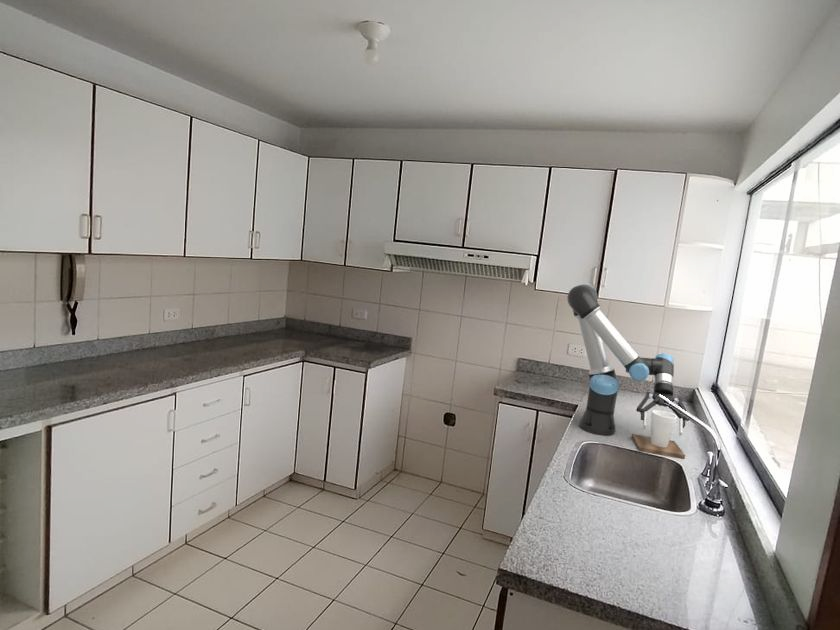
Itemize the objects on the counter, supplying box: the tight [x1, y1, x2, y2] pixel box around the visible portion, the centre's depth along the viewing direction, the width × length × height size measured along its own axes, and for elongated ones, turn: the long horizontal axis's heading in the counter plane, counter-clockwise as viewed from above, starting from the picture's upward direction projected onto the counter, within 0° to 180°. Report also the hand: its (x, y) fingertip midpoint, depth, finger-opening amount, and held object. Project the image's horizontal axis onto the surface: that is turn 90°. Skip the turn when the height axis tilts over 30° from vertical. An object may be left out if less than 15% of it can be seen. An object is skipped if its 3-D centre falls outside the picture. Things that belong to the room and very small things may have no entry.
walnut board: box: [631, 433, 686, 460], centre depth 212 cm, size 17×16×2 cm
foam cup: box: [650, 409, 678, 447], centre depth 211 cm, size 10×9×13 cm
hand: (662, 430), depth 209 cm, fingers open, 13 cm apart
